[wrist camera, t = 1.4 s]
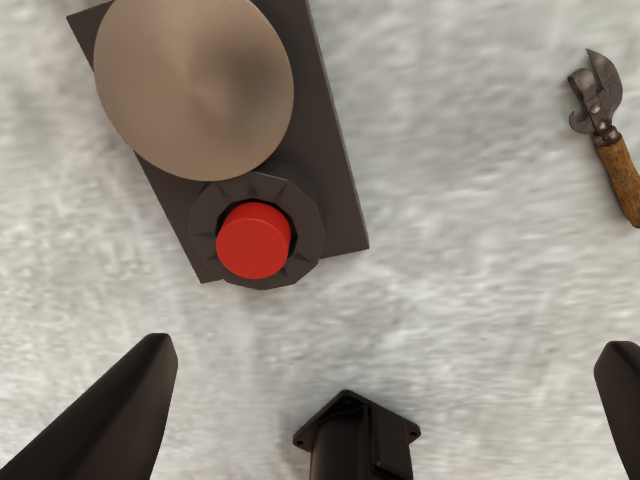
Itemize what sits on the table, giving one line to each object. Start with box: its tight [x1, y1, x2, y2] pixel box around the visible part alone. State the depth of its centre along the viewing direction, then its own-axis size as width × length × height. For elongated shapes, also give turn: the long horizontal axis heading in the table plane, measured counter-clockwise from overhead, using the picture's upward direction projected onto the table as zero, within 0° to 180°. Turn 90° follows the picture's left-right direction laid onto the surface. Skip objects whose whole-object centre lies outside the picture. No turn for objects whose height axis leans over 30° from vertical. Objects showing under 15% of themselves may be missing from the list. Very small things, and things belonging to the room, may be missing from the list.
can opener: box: [568, 49, 640, 228], centre depth 19 cm, size 9×2×1 cm, turn 30°
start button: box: [216, 202, 291, 279], centre depth 19 cm, size 3×3×2 cm
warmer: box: [66, 0, 369, 290], centre depth 19 cm, size 13×9×3 cm
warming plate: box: [93, 0, 294, 181], centre depth 16 cm, size 7×7×1 cm
